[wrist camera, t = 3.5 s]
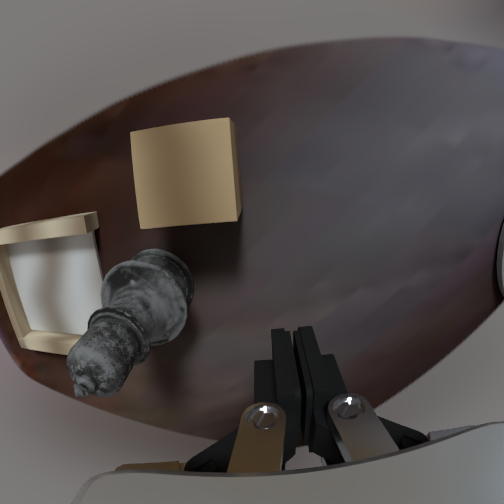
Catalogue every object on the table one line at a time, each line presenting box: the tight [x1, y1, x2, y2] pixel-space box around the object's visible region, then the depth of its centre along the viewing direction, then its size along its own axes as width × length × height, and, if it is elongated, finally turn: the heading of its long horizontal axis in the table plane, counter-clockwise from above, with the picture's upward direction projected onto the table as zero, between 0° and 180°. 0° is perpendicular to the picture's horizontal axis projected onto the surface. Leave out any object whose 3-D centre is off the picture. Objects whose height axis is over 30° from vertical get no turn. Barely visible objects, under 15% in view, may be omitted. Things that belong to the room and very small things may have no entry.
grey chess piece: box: [67, 249, 194, 397], centre depth 15 cm, size 6×6×12 cm
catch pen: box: [0, 211, 104, 355], centre depth 21 cm, size 12×11×2 cm
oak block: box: [130, 118, 243, 229], centre depth 16 cm, size 5×5×5 cm
